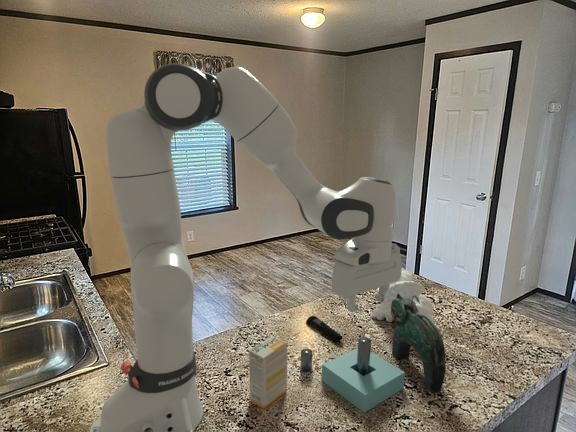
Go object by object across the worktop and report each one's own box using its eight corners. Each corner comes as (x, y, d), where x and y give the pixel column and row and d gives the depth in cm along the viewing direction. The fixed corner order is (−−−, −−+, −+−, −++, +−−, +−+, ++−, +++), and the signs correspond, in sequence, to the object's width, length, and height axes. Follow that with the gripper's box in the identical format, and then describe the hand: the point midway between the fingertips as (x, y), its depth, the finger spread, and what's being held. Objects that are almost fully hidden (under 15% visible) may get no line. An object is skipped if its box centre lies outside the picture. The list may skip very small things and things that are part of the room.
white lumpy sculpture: (458, 309, 117) (402, 272, 117) (417, 359, 120) (363, 323, 120) (440, 287, 135) (392, 256, 135) (405, 331, 139) (359, 300, 139)
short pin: (305, 373, 100) (305, 356, 98) (298, 368, 102) (298, 350, 101) (314, 369, 101) (314, 352, 100) (306, 364, 104) (307, 347, 103)
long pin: (362, 390, 94) (365, 345, 91) (352, 383, 96) (355, 339, 93) (370, 385, 95) (373, 341, 93) (361, 379, 98) (364, 335, 95)
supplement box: (272, 383, 96) (272, 334, 93) (287, 391, 93) (288, 342, 90) (248, 400, 89) (248, 349, 86) (263, 410, 86) (264, 357, 84)
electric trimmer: (335, 347, 113) (335, 337, 112) (304, 323, 126) (305, 314, 125) (345, 343, 115) (345, 334, 114) (314, 321, 128) (314, 312, 127)
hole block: (364, 412, 86) (365, 395, 85) (321, 380, 97) (322, 364, 96) (403, 388, 94) (404, 372, 93) (360, 361, 105) (361, 346, 104)
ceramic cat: (385, 350, 111) (390, 284, 106) (405, 348, 112) (411, 282, 108) (427, 396, 92) (435, 318, 88) (450, 392, 94) (460, 315, 89)
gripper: (389, 239, 97) (384, 291, 100) (328, 252, 85) (325, 311, 88) (410, 245, 92) (405, 300, 95) (350, 260, 80) (345, 322, 83)
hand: (366, 305), depth 91 cm, fingers open, 8 cm apart
